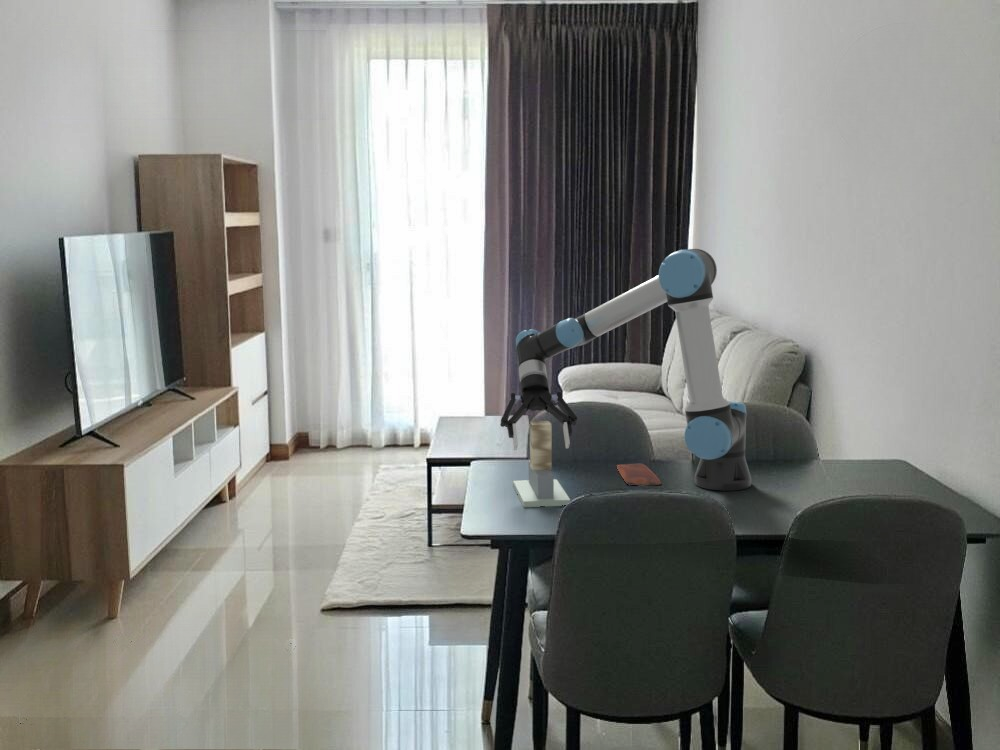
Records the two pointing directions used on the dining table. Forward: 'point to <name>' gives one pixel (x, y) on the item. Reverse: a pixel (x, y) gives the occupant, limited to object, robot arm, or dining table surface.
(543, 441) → the birch block
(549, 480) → the ridge stand
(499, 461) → the dining table surface
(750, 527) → the dining table surface
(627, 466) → the wooden tablet
